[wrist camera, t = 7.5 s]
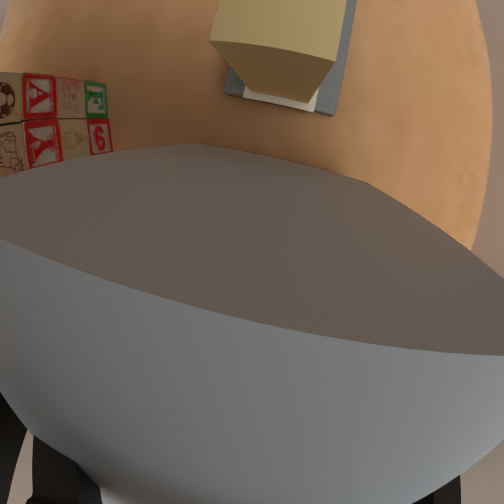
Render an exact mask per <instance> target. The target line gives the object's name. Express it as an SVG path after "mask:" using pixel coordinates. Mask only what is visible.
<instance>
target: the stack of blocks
mask: <svg viewBox="0 0 504 504" xmlns="http://www.w3.org/2000/svg"><path fill="white" fill-rule="evenodd" d="M110 152H113V149H112V142H111V134H110V125H109V119H108V110H107V95H106V84H102V83H97V82H93V81H88V80H82V81H81V80H76V79H70V78H62V77H55V76H53V75H46V74H36V73H10V72H0V178H2V177H5V176H8V175H11V174H15V173H18V172H22V171H25V170H29V169H33V168H37V167H41V166H45V165H49V164H53V163H57V162H62V161H66V160H71V159H76V158H81V157H87V156H92V155H98V154H104V153H110Z"/></svg>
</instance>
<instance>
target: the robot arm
mask: <svg viewBox="0 0 504 504" xmlns="http://www.w3.org/2000/svg"><path fill="white" fill-rule="evenodd" d="M26 432H27V428H26V427H25V425H24V424H23V423H22V422H21V420H20V419H19V418H18V416H17V415H16V414H15V412H14V411H13V410H12V408H11V407H10V405H9V404H8V402H7V401H6V400H5V398H4V397H3V395H2V394H1V392H0V504H7V500H8V496H9V491H10V487H11V482H12V478H13V474H14V471H15V467H16V463H17V460H18V456H19V453H20V450H21V447H22V444H23V441H24V438H25V435H26ZM32 477H33V478H32V481H33V494H32V497H31V498H29V499H28V500H27V502H26V504H102V499H101V492H100V487H99V486H98V485H97V484H96V483H95V482H94V481H93V480H92V479H91V478H90V477H89V476H88V475H87V474H86V473H85V472H84V471H83V470H82V469H81V467H80V466H79V465H78V464H77V463H76V462H75V461H73V460H71V459H70V458H68V457H66V456H65V455H63V454H61V453H60V452H58V451H57V450H55V449H54V448H52V447H51V446H49V445H48V444H46V443H45V442H43V441H42V440H40V439H39V438H37V437H36V436H35V435H34V438H33V458H32ZM412 504H461V485H460V475H458V476H457V477H456V478H454V479H453V480H451V481H450V482H448V483H446V484H445V485H443V486H442V487H440V488H439V489H437V490H435V491H434V492H432V493H430V494H428V495H427V496H425V497H423V498H421V499H420V500H418V501H416V502H414V503H412Z"/></svg>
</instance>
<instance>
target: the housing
mask: <svg viewBox="0 0 504 504" xmlns="http://www.w3.org/2000/svg"><path fill="white" fill-rule="evenodd" d="M0 392H1V394H2V395H3V397H4V398H5V400H6V401H7V402H8V404H9V405H10V407H11V408H12V410H13V411H14V412H15V414H16V415H17V416H18V418H19V419H20V420H21V422H22V423H23V424H24V425H25V427H26V428H27V429H28V430H29V432H30V433H31V434H32V435H33V436H34V435H35V436H36V437H37V438H39V439H40V440H42V441H43V442H45V443H46V444H48V445H49V446H51V447H52V448H54V449H55V450H57V451H58V452H60V453H61V454H63V455H65V456H66V457H68V458H70V459H71V460H73V461H75V462H76V463H77V464H78V465H79V466H80V467H81V469H82V470H83V471H84V472H85V473H86V474H87V475H88V476H89V477H90V478H91V479H92V480H93V481H94V482H95V483H96V484H97V485H98V486H99V487H100V492H101V499H102V502H103V503H105V504H412V503H414V502H416V501H418V500H420V499H421V498H423V497H425V496H427V495H428V494H430V493H432V492H434V491H435V490H437V489H439V488H440V487H442V486H443V485H445V484H446V483H448V482H450V481H451V480H453V479H454V478H456V477H457V476H458V475H460V474H461V473H463V472H464V471H465V470H467V469H468V468H469V467H471V466H472V465H473V464H475V463H476V462H477V461H479V460H480V459H481V458H482V457H484V456H485V455H486V454H487V453H489V452H490V451H491V450H492V449H493V448H494V447H496V446H497V445H498V444H499V443H500V442H501V441H502V440H503V439H504V279H503V278H502V277H501V276H500V275H498V274H497V273H496V272H495V271H494V270H493V269H491V268H490V267H489V266H488V265H487V264H486V263H484V262H483V261H482V260H481V259H479V258H478V257H477V256H476V255H474V254H473V253H472V252H471V251H469V250H468V249H467V248H465V247H464V246H463V245H462V244H460V243H459V242H458V241H456V240H455V239H454V238H452V237H451V236H449V235H448V234H447V233H445V232H444V231H442V230H441V229H440V228H438V227H437V226H435V225H434V224H432V223H431V222H430V221H428V220H427V219H425V218H424V217H422V216H421V215H419V214H418V213H416V212H414V211H413V210H411V209H410V208H408V207H407V206H405V205H403V204H402V203H400V202H399V201H397V200H395V199H394V198H392V197H390V196H389V195H387V194H385V193H384V192H382V191H380V190H379V189H377V188H375V187H374V186H372V185H370V184H368V183H366V182H363V181H360V180H357V179H353V178H350V177H347V176H343V175H340V174H336V173H333V172H329V171H326V170H322V169H319V168H315V167H311V166H307V165H303V164H299V163H295V162H291V161H287V160H283V159H278V158H274V157H269V156H265V155H260V154H255V153H251V152H246V151H240V150H235V149H230V148H224V147H218V146H213V145H206V144H200V143H192V144H178V145H166V146H156V147H147V148H139V149H131V150H123V151H116V152H110V153H104V154H98V155H92V156H87V157H81V158H76V159H71V160H66V161H62V162H57V163H53V164H49V165H45V166H41V167H37V168H33V169H29V170H25V171H22V172H18V173H15V174H11V175H8V176H5V177H2V178H0Z"/></svg>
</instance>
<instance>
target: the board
mask: <svg viewBox="0 0 504 504" xmlns="http://www.w3.org/2000/svg"><path fill="white" fill-rule="evenodd" d="M355 5H356V0H220V2H219V5H218V8H217V11H216V15H215V18H214V22H213V25H212V29H211V32H210V36H209V42H210V43H211V44H212V45H213V46H214V47H215V48H216V50H217V51H218V52H219V53H220V54H221V55H222V57H223V58H224V59H225V60H226V61H227V62H228V64H229V69H228V73H227V78H226V82H225V87H224V91H223V92H224V93H226V94H227V95H233V96H240V97H243V98H247V99H253V100H259V101H264V102H269V103H274V104H279V105H284V106H288V107H293V108H297V109H301V110H305V111H309V112H313V113H314V112H316V113H320V114H324V115H327V116H331V117H332V116H334V115H335V111H336V106H337V102H338V97H339V92H340V88H341V83H342V78H343V73H344V68H345V63H346V58H347V52H348V47H349V41H350V36H351V30H352V24H353V18H354V11H355Z"/></svg>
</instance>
